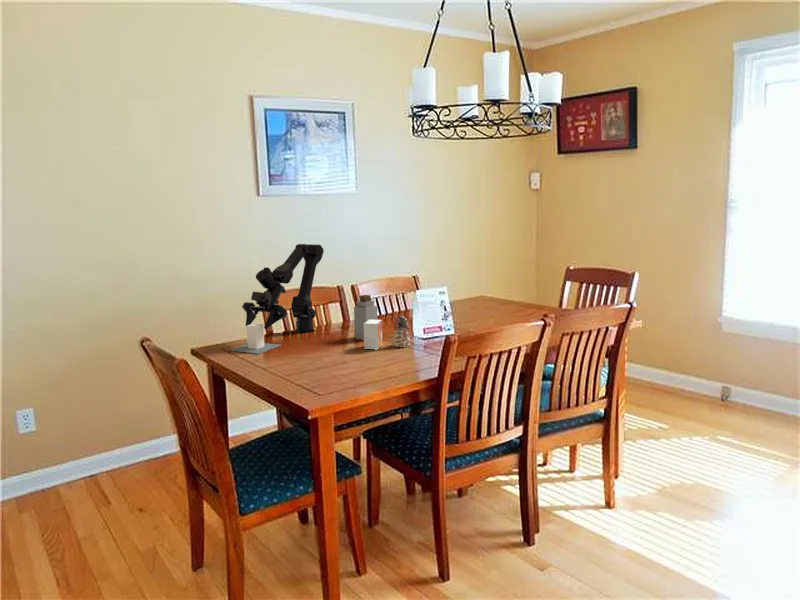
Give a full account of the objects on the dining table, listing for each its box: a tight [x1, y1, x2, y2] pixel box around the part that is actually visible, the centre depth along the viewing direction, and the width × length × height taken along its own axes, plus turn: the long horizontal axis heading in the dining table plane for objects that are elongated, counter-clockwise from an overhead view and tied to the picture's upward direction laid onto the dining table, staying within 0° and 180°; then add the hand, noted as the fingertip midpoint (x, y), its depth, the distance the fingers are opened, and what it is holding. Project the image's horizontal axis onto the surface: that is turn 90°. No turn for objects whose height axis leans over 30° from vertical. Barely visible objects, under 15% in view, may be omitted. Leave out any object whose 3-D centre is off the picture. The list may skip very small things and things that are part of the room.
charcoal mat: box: [230, 342, 282, 355], centre depth 250 cm, size 14×14×1 cm
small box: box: [363, 319, 384, 351], centre depth 246 cm, size 8×6×10 cm
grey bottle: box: [353, 294, 379, 340], centre depth 261 cm, size 7×7×18 cm
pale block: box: [245, 323, 265, 349], centre depth 249 cm, size 4×4×9 cm
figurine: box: [392, 315, 412, 348], centre depth 248 cm, size 7×7×12 cm
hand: (255, 327), depth 249 cm, fingers open, 9 cm apart
